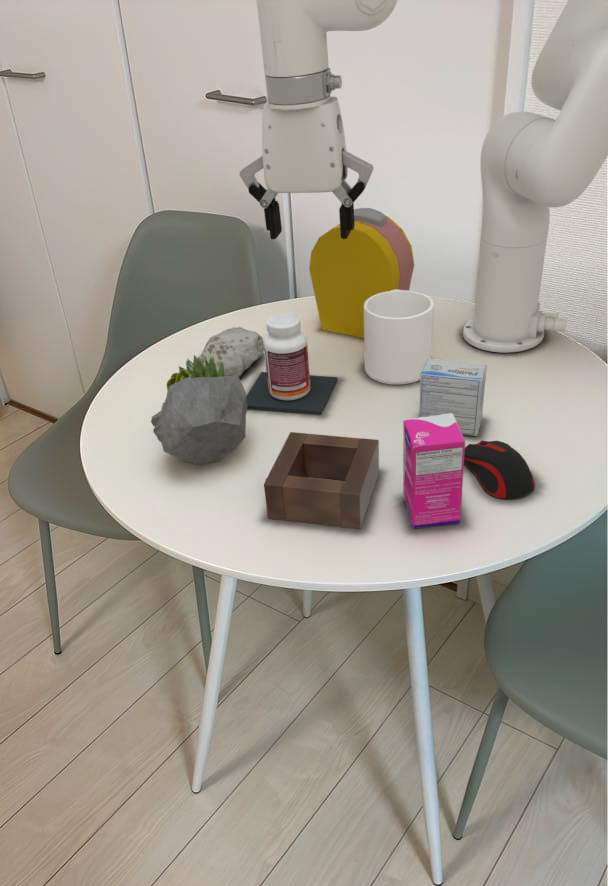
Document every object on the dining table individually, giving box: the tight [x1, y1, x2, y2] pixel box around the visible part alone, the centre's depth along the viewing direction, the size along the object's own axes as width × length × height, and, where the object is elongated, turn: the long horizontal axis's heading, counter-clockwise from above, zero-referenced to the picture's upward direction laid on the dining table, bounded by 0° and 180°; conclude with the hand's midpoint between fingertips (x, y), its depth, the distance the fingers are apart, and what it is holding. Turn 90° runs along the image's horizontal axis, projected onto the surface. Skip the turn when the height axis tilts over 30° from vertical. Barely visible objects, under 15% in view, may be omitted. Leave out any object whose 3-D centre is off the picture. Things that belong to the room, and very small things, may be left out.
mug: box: [363, 289, 435, 386], centre depth 112 cm, size 13×10×10 cm
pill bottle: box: [263, 313, 310, 401], centre depth 107 cm, size 6×6×11 cm
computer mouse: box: [464, 440, 536, 500], centre depth 91 cm, size 6×11×4 cm, turn 20°
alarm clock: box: [309, 207, 415, 339], centre depth 121 cm, size 15×8×18 cm, turn 59°
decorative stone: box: [198, 326, 264, 379], centre depth 117 cm, size 12×11×5 cm
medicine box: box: [418, 358, 488, 437], centre depth 99 cm, size 8×4×9 cm, turn 71°
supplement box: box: [402, 413, 466, 529], centre depth 84 cm, size 6×6×12 cm
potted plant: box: [150, 354, 248, 466], centre depth 99 cm, size 12×13×15 cm
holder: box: [263, 431, 380, 530], centre depth 90 cm, size 11×11×5 cm
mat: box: [246, 371, 338, 416], centre depth 111 cm, size 12×10×1 cm
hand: (310, 235), depth 100 cm, fingers open, 9 cm apart
